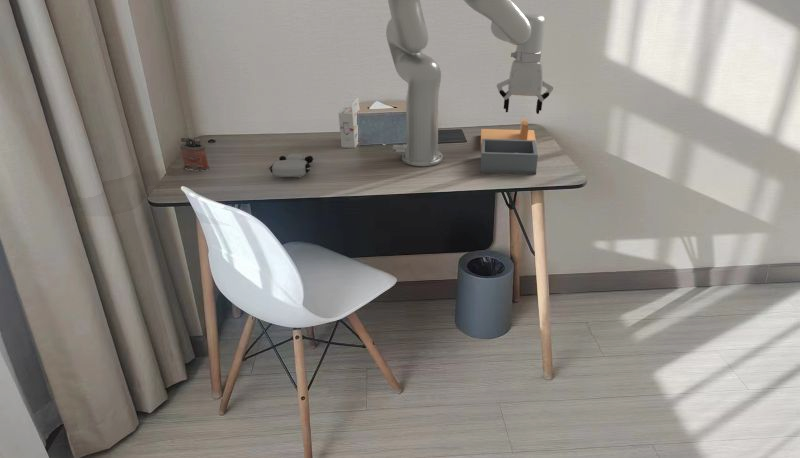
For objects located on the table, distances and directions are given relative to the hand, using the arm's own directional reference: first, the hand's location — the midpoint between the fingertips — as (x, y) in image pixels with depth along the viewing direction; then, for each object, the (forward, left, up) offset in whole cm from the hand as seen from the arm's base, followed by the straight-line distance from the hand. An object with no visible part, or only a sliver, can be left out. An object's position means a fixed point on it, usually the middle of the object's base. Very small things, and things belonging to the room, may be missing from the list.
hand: (522, 111), depth 192 cm
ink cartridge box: (-55, -4, -11) cm, 56 cm away
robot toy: (-68, -29, -11) cm, 74 cm away
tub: (-4, -19, -11) cm, 22 cm away
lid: (-4, 0, -11) cm, 11 cm away
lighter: (-98, -29, -11) cm, 103 cm away
